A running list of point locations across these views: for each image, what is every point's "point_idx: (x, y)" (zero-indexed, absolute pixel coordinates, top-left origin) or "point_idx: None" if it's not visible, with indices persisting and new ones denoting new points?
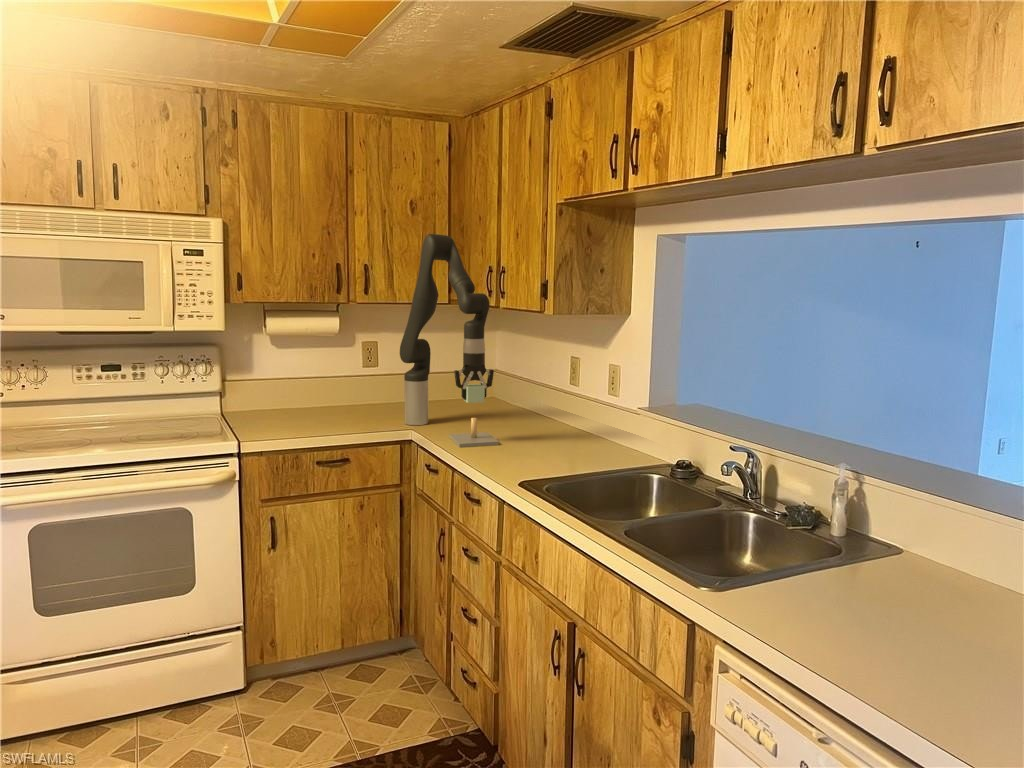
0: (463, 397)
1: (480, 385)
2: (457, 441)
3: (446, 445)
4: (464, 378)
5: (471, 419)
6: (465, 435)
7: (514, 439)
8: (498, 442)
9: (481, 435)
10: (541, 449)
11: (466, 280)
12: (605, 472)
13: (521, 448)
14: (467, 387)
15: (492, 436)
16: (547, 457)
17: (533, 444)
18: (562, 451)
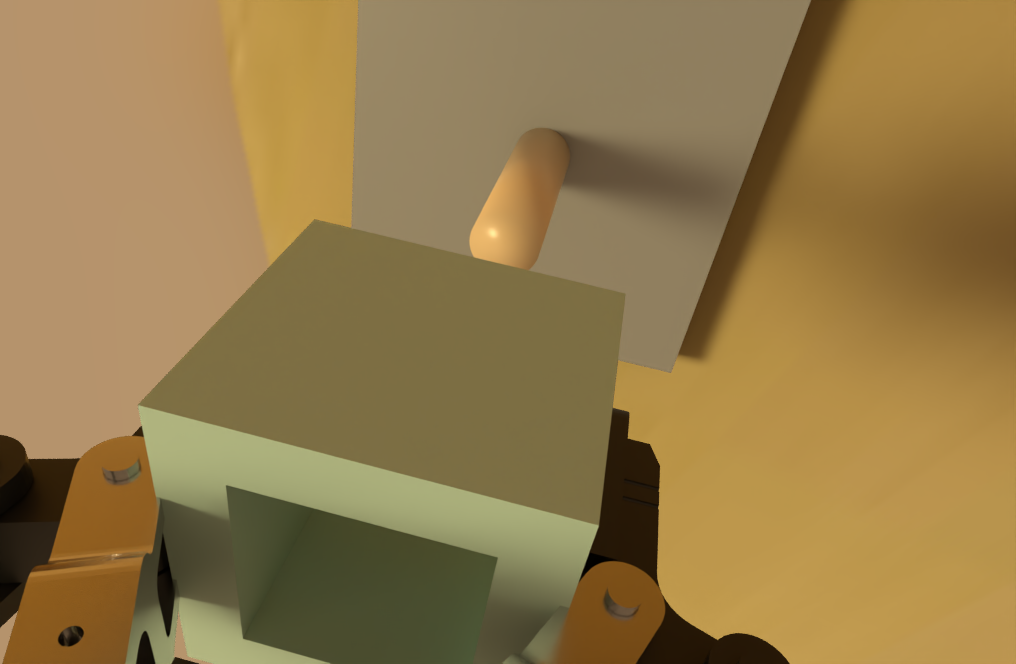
0: None
1: (506, 643)
2: (355, 218)
3: (283, 159)
4: (18, 641)
5: (472, 241)
6: (507, 14)
7: (952, 232)
8: (665, 366)
9: (662, 95)
10: (864, 553)
11: None
12: None
13: (764, 480)
14: (188, 641)
15: (737, 188)
16: None
17: (938, 441)
18: (939, 634)
